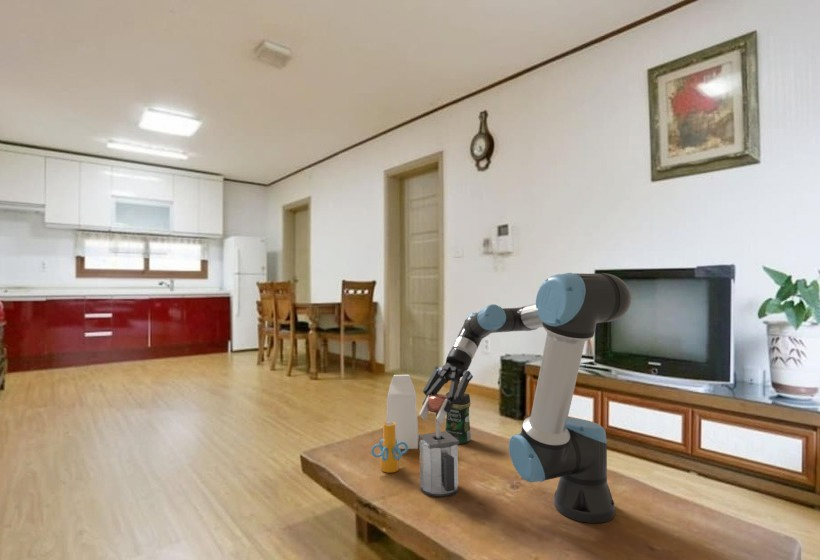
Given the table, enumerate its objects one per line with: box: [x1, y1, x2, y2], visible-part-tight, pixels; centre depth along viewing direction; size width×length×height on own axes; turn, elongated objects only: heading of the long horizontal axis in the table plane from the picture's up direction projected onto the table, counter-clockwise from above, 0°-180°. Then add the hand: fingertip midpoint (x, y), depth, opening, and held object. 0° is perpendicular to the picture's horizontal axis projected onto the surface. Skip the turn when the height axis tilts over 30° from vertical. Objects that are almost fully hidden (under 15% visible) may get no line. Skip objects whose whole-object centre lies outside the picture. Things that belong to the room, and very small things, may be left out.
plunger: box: [428, 393, 447, 440], centre depth 129 cm, size 6×6×22 cm
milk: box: [385, 374, 419, 450], centre depth 166 cm, size 12×12×26 cm
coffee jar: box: [444, 391, 472, 445], centre depth 168 cm, size 10×8×19 cm
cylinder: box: [370, 421, 409, 474], centre depth 143 cm, size 12×10×15 cm
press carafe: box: [418, 430, 460, 499], centre depth 127 cm, size 14×11×15 cm
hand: (430, 418), depth 126 cm, fingers closed on plunger, 6 cm apart
